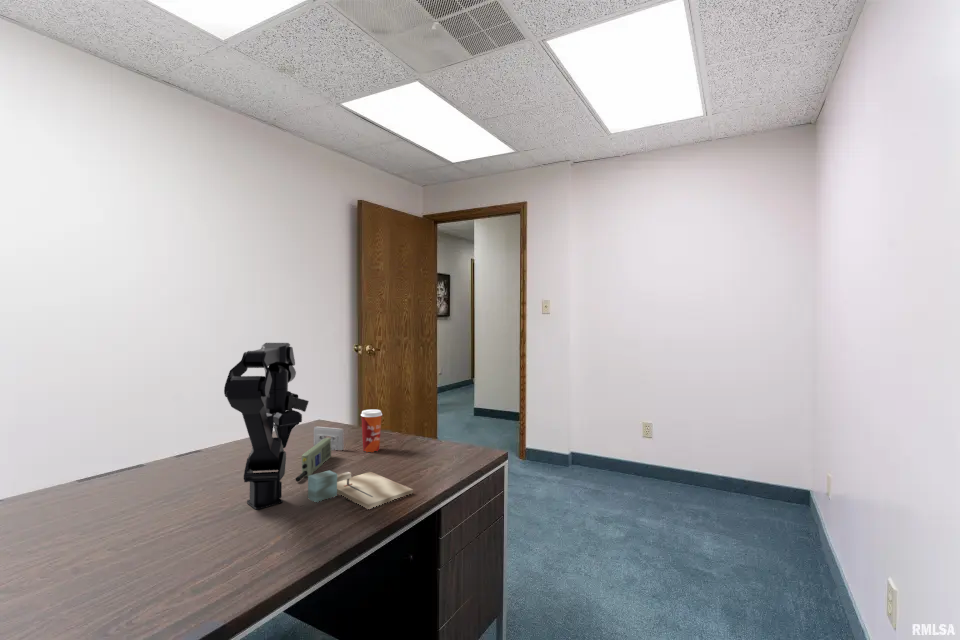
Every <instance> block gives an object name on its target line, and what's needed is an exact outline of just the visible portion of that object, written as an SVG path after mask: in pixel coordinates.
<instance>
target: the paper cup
mask: <svg viewBox="0 0 960 640" xmlns="http://www.w3.org/2000/svg"><path fill="white" fill-rule="evenodd" d="M360 416H361V431H362V432H361V433H362V434H361V437H362V439H361V440H362V450H363V452H364V451H366V452H365V453H368V452H371V453H375V452H374V451H377V452H378V450H379V451H380V446H381V445H380V444H381V431H382V430H381V429H382V418H383V417H382V416H383V413H382V410H380V409H364V410H362V411H361V413H360Z"/></svg>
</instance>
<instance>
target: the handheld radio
mask: <svg viewBox="0 0 960 640" xmlns="http://www.w3.org/2000/svg"><path fill="white" fill-rule="evenodd" d="M330 458H332V450H331V437H326V438H324V439H323V440H322V441H320V442H319V443H318V444H316V445H315V446H314V445H313V446H312V447H310V449H308V450H306V451H305V452H304V453H303V454H302V455H301V473H300V474H299V475H298V476H297V477H296V478H295V481H296V482H297V483H299V482H300V481H301V480H302V479H303V478H304V477H308V476H309V475H313V474H314V473H315V472H316V471H317V470H318V469H319V468H320V467H321V466H322V465H324V464H325V463H326V462H327V461H328V460H329V459H330ZM325 461H326V462H325ZM324 462H325V463H324ZM323 463H324V464H323ZM314 471H315V472H314ZM313 472H314V473H313Z"/></svg>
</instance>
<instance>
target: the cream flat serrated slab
mask: <svg viewBox="0 0 960 640" xmlns="http://www.w3.org/2000/svg"><path fill="white" fill-rule="evenodd" d="M337 493H338V494H337V495H339V494H340V495H339V496H341V495H342V496H341V497H343V496H344V497H343V498H345V497H346V498H345V499H347V498H348V499H347V500H349V499H350V500H349V501H351V500H352V501H351V502H353V503H355V504H356V503H357V504H356V505H358V504H359V505H358V506H360V505H361V506H360V507H362V506H363V507H362V508H364V507H365V508H364V509H367V510H368V509H369V510H370V509H373V507H374V508H377V507H380V506H382V504H383V505H385V504H384V503H386V504H388V503H391V502H393V501H392V500H394V499H397V498H400V497H403V496H405V495H408V496H410V495H409V494H411V495H413V494H414V489H413V488H410V487H409V486H406V485H404V484H401V483H398V482H396V481H394V480H391V479H389V478H387V477H384V476H382V475H380V474H377V473H374V472H372V471H367V472H365V473H362V474H358V475H354V476H351V478H350V479H349V484H347V479H346V480H343V481H339V482H337ZM412 493H413V494H412ZM405 497H406V496H405ZM403 498H404V497H403ZM400 499H401V498H400ZM397 500H398V499H397ZM390 501H391V502H390ZM394 501H395V500H394ZM387 502H388V503H387ZM379 505H380V506H379ZM376 506H377V507H376Z"/></svg>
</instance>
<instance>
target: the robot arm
mask: <svg viewBox="0 0 960 640" xmlns="http://www.w3.org/2000/svg"><path fill="white" fill-rule="evenodd" d="M241 357H242V358H241V360H240V361H239V362H238V363H236V365H234V366H233V367H232V368H231V369H230V370H229V372H228V376H227V378H226V381H225V384H224V389H223V393H224V397H225V398H226V399H227V402H228V404H229V405H230V407H231V408H232V409H234V410H235V411H237V412H239V413H241V415H242V417H243V421H244V424H245V428H246V431H247V434H248V438H249V440H250V443H251V444H250V445H251V446H252V447H251V450H250V453H249V455H248V457H247V458H246V462H245V466H244V473H243V482H244V483H249V499H248V500H247V501H246V504H248V505H249V506H250V507H252V508H253V509H254V510H261V509H265V508H268V507H270V506H271V507H272V506H276V505H279V504H282V503H283V499H282V491H283V489H282V483H283V482H282V481H281V480H282V479H283V478H284V476H285V474H286V462H287V461H286V460H287V452H286V451H285V450H284V449H286V448H287V446H288V445H287V444H288V441H289V438H290V435H291V433H292V430H293V429H294V428H295V427H297V426H299V424H300V423H302V422H303V414H302V413H301V412H304V413H306V411H307V408H308V405H309V400H306V399H303V398H299V395H298V394H297V393H293V392H291V391H290V390H289V388H288V387H289V383H291V382H292V381H293V380H294V379H295V377H296V375H297V371H296V369H295V367H294V366H295V365H296V360H295V354H294V350H293V347H292V346H291V344H290V343H289V342H265V343H263V344H262V345H261V347H260V349H255V350H247V351H244V352H243V354H242V356H241ZM248 369H264V372H265V373H264V376H263V375H243V374H245V373H246V372H247V371H248ZM297 410H299V411H297ZM300 411H301V412H300ZM273 431H274V432H275V434H276V437H273V433H274V432H273Z"/></svg>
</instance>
